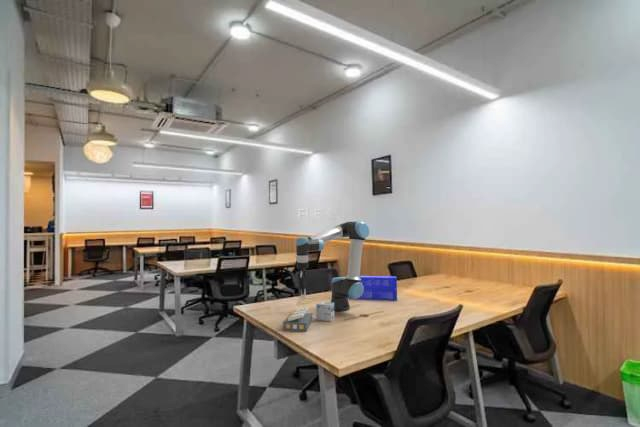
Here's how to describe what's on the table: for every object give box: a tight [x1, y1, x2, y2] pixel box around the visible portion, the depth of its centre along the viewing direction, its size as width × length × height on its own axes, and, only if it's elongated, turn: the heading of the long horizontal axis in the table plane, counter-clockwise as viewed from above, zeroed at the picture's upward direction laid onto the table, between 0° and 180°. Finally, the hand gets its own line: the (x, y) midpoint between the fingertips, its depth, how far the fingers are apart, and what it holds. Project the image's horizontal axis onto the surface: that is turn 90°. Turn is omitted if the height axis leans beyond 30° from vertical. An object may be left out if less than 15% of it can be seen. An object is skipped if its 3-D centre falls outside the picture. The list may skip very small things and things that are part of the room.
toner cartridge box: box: [349, 275, 398, 301], centre depth 273 cm, size 39×8×18 cm, turn 79°
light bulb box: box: [315, 301, 335, 322], centre depth 216 cm, size 11×7×11 cm, turn 71°
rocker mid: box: [289, 310, 307, 316], centre depth 203 cm, size 9×4×2 cm, turn 82°
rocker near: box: [287, 313, 304, 321], centre depth 197 cm, size 9×4×2 cm, turn 82°
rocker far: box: [292, 306, 309, 313], centre depth 210 cm, size 9×4×2 cm, turn 82°
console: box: [282, 312, 313, 333], centre depth 203 cm, size 14×20×6 cm
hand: (303, 299), depth 207 cm, fingers closed
